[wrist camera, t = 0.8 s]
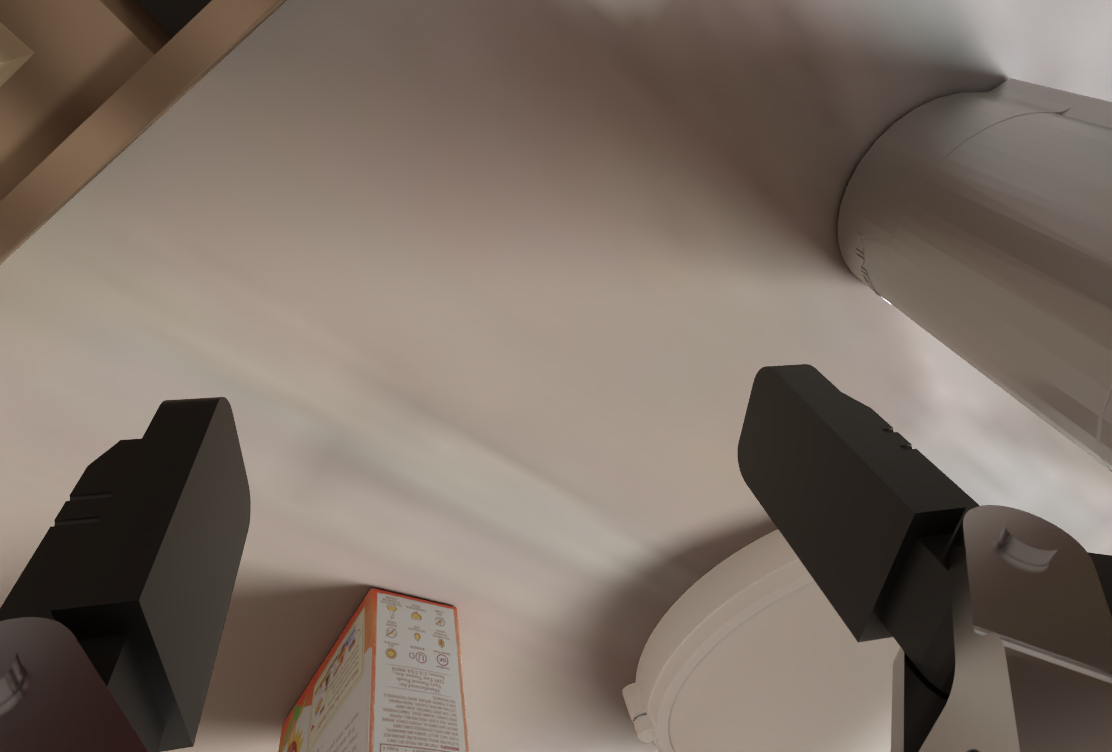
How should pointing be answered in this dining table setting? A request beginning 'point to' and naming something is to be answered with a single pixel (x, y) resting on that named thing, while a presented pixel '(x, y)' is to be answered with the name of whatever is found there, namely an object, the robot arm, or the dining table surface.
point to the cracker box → (386, 684)
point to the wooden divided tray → (98, 89)
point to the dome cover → (761, 666)
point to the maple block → (11, 54)
